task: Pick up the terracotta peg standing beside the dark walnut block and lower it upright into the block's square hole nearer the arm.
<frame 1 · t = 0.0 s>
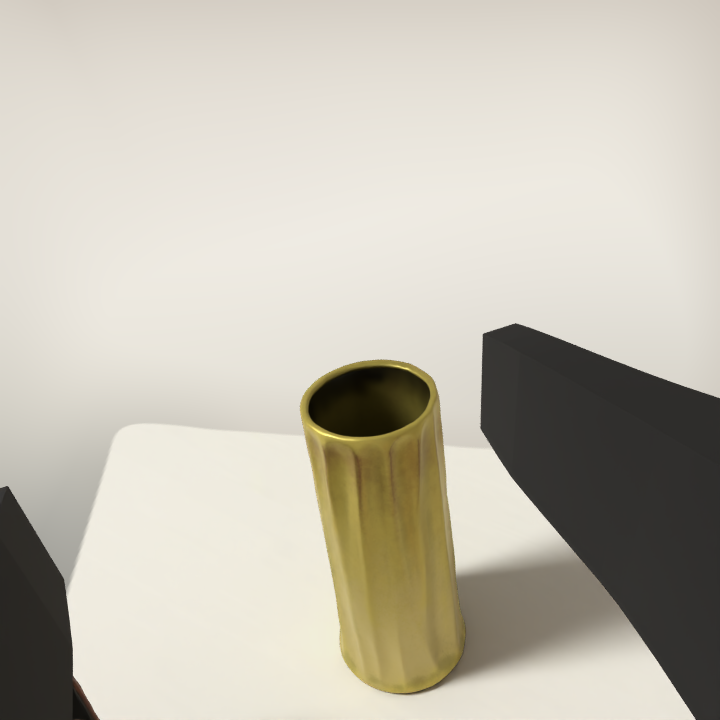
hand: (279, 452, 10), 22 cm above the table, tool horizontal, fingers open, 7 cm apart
vase: (402, 637, 31), on the table
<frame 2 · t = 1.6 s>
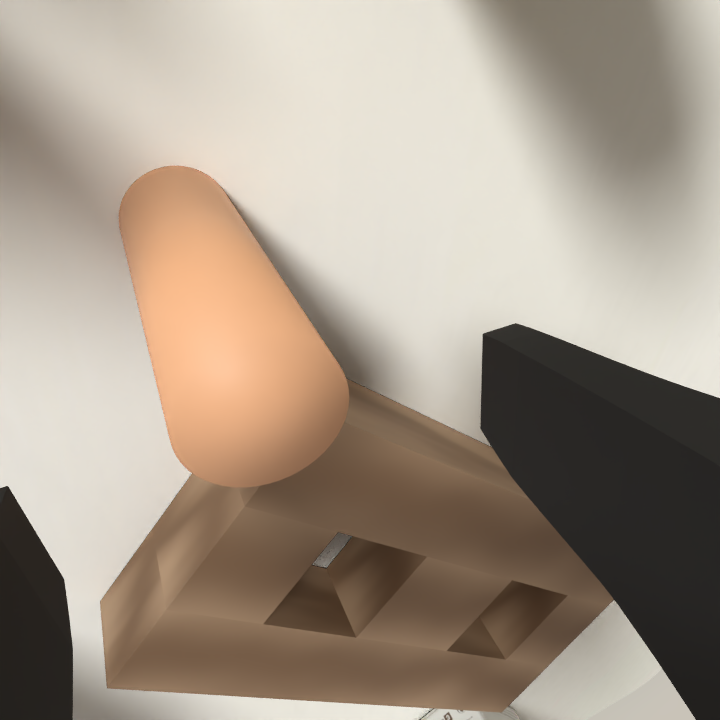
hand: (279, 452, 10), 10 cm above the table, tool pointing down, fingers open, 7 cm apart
hole block: (401, 544, 29), on the table
peg: (177, 221, 17), on the table
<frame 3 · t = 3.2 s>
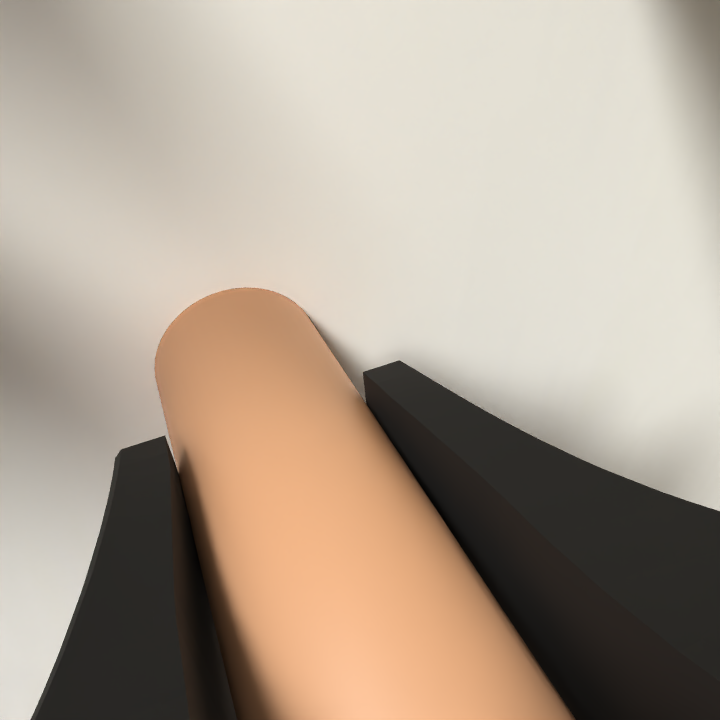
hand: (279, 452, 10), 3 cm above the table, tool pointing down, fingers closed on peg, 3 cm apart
peg: (239, 361, 12), on the table, touching gripper
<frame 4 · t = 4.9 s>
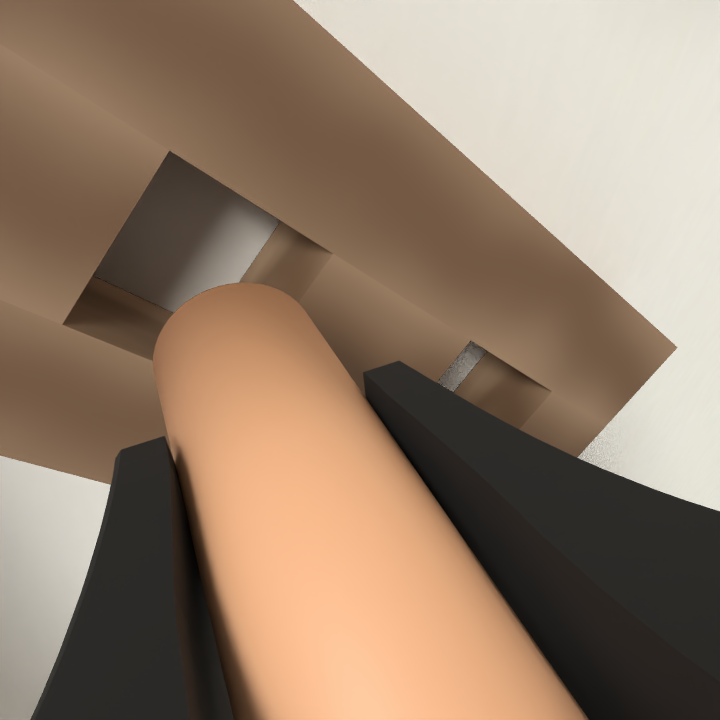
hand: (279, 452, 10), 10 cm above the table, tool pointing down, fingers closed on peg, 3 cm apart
hole block: (318, 307, 21), on the table
peg: (238, 358, 12), point 7 cm above the table, touching gripper
when the fingers open (5 cm above the table, at t = 6.7 s): peg drops 2 cm, resting in hole block.
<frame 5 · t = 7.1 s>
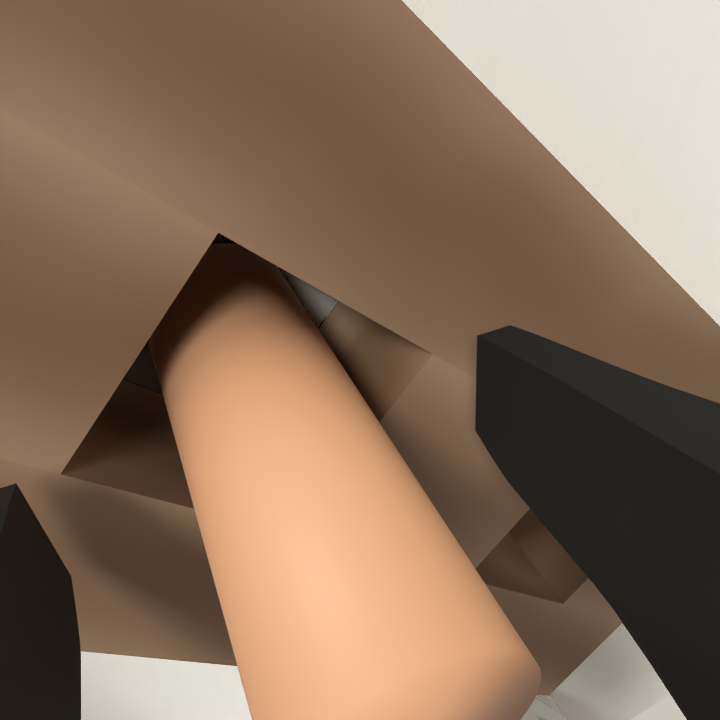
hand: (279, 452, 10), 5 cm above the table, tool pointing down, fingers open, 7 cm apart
hole block: (385, 392, 16), on the table
skincare box: (470, 711, 29), on the table
peg: (218, 310, 13), resting in hole block
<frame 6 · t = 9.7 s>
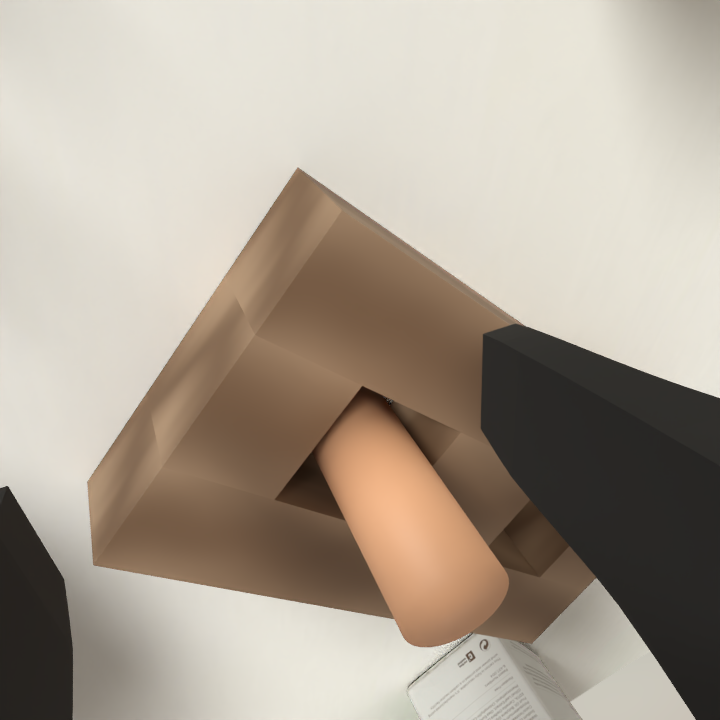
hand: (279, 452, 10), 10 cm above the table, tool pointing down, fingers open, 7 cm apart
hole block: (425, 441, 26), on the table
skincare box: (476, 665, 38), on the table
peg: (333, 399, 23), resting in hole block
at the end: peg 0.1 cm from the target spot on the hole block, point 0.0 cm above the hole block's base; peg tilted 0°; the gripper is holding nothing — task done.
